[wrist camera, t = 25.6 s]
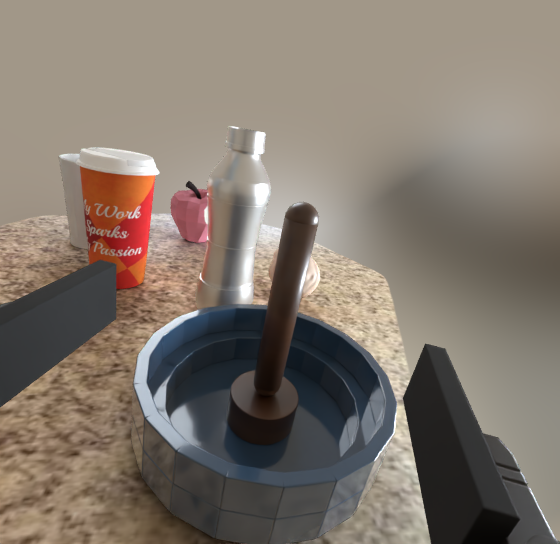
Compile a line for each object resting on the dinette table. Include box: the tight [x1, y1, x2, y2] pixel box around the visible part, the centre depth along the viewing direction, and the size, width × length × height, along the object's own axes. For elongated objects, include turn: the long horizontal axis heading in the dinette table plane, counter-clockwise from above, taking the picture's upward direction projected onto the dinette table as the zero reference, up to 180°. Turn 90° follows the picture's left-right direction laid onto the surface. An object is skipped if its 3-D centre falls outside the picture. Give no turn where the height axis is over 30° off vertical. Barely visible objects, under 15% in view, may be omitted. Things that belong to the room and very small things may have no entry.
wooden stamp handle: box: [227, 202, 319, 445], centre depth 23 cm, size 5×5×16 cm
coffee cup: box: [76, 148, 159, 289], centre depth 41 cm, size 8×8×15 cm
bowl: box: [131, 304, 397, 544], centre depth 26 cm, size 18×18×6 cm
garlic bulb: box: [269, 249, 320, 298], centre depth 47 cm, size 7×6×8 cm
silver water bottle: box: [195, 126, 271, 310], centre depth 37 cm, size 6×7×20 cm
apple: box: [171, 181, 208, 243], centre depth 60 cm, size 10×9×10 cm
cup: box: [59, 154, 88, 249], centre depth 51 cm, size 8×8×12 cm
